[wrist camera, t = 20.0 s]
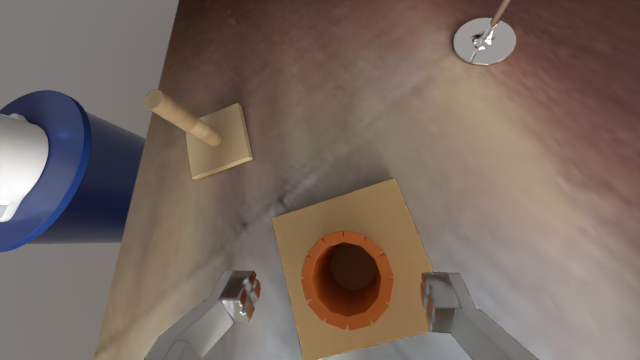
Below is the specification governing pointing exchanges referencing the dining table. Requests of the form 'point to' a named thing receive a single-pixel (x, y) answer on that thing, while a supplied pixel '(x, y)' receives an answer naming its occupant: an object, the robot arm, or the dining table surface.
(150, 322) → the dining table surface
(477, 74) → the dining table surface
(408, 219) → the cork mat
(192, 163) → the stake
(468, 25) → the wineglass
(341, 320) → the orange ring
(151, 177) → the dining table surface
